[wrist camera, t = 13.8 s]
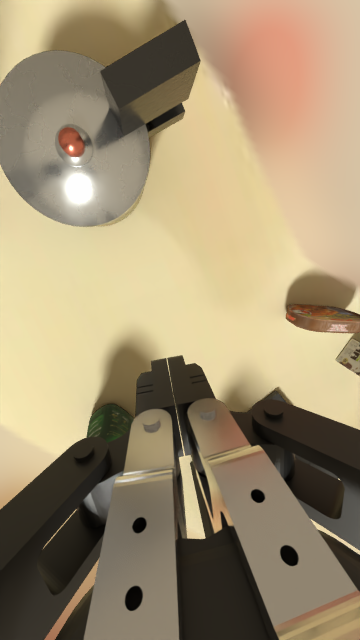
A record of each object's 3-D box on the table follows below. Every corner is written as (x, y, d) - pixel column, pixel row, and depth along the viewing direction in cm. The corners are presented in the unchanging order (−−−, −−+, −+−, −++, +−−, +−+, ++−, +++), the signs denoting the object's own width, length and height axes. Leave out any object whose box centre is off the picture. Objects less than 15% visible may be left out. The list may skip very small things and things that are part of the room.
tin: (344, 307, 53) (379, 319, 45) (339, 321, 54) (373, 335, 46) (279, 302, 50) (305, 315, 42) (276, 317, 51) (300, 332, 43)
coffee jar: (83, 419, 52) (54, 510, 35) (111, 396, 51) (95, 477, 34) (116, 443, 55) (104, 538, 38) (142, 422, 55) (143, 509, 37)
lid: (60, 251, 32) (38, 255, 25) (-41, 106, 26) (-105, 60, 19) (212, 163, 31) (231, 143, 25) (142, -6, 25) (142, -94, 19)
